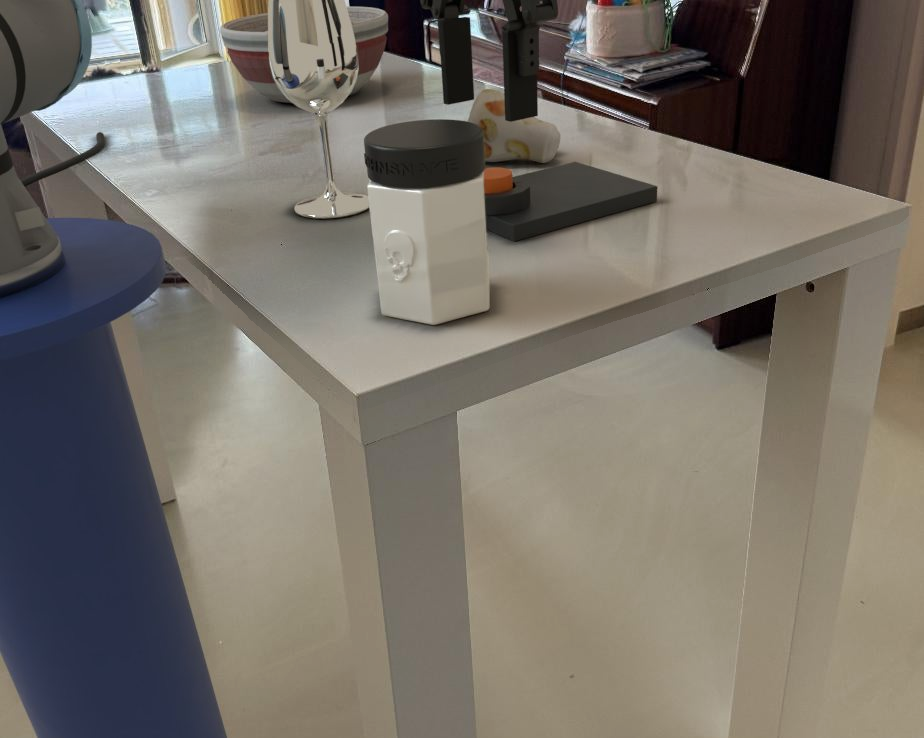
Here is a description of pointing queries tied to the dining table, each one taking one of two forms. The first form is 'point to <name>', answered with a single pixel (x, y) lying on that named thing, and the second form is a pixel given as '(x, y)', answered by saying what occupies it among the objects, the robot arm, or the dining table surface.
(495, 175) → the button
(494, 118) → the fruit sandwich
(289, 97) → the wineglass
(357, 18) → the bowl
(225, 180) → the dining table surface
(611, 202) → the scale
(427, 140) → the jar
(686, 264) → the dining table surface
